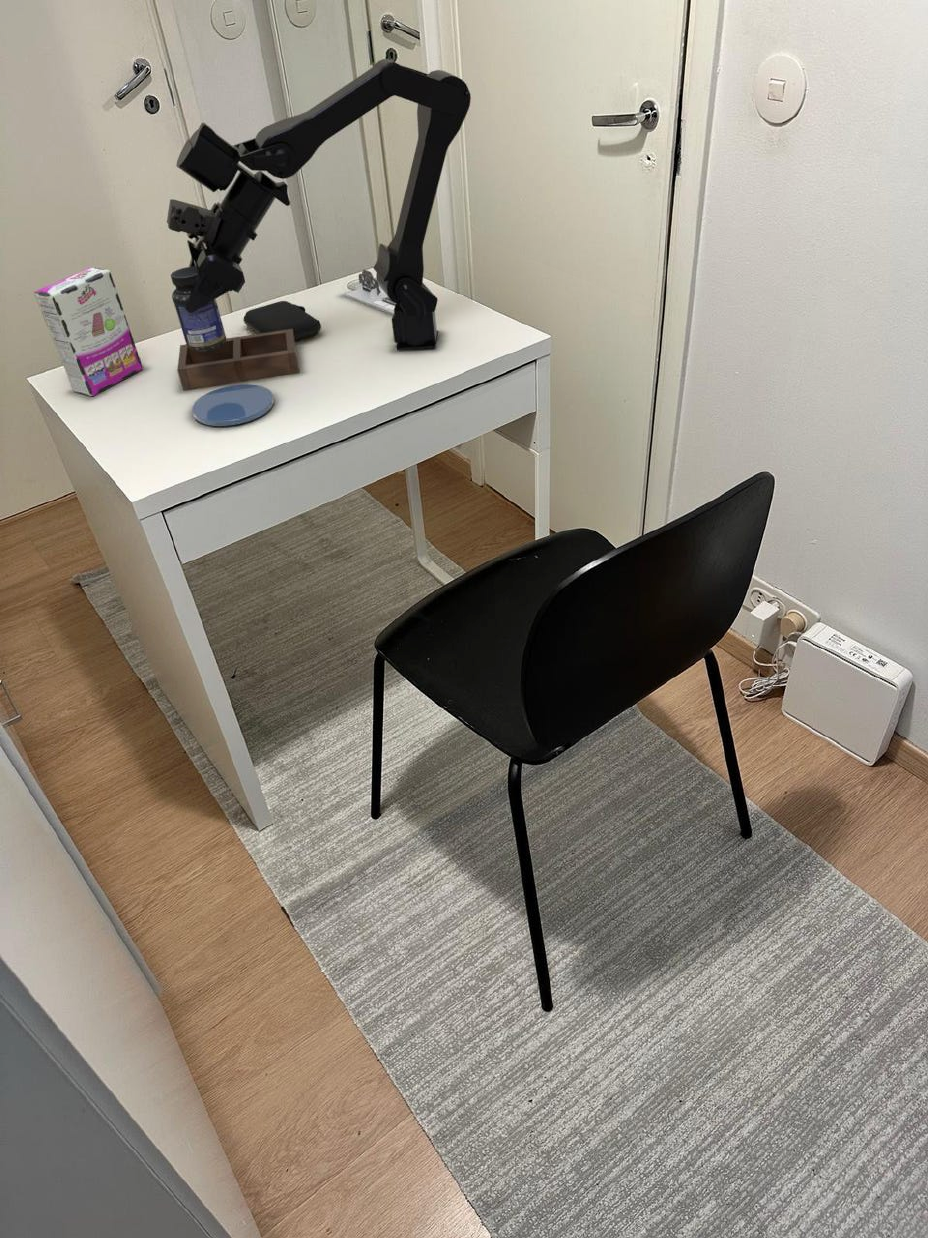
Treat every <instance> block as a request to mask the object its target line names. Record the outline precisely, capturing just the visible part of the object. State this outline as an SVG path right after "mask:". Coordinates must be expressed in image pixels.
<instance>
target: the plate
mask: <svg viewBox="0 0 928 1238" xmlns="http://www.w3.org/2000/svg"><path fill="white" fill-rule="evenodd" d="M274 401H275V400H274V396H273V393H272V391H271V390H270V389H268V388H267V387H264V386H262V385H258V384H249V383H246V384H245V383H243V384H241V383H240V384H233V385H228V386H223V387H220V388H219V387H218V388H216V389H214V390H211V391H209V392H207V393H205V394H203V395H202V396H200V397H198V399H197V400H195V402H194V403H193V405H192V413H193V417H194V418H195V419H196V420H197V421H198V422H199V423H200V424H203V425H208V426H214V427H226V426H235V425H241V424H244V423H248V422H250V421H254V420H256V419H258V418H260V417H262V416H263V415H265V414H266V413H267V412H269V411H270V410H271V408H273V405H274Z"/></svg>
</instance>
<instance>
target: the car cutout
mask: <svg viewBox="0 0 928 1238" xmlns="http://www.w3.org/2000/svg"><path fill="white" fill-rule="evenodd" d="M361 271H362V272H361V273H359V274H358V283H357V284H356V285H355V288H354V290H351V291H348V292H347V293H344V297H345V298H348V299H351V300H354V301H356V302H358V303H360V304H364V305H366V306H369V307H371V308H374V309H376V310H378V311H382V312H385V313H387V314H389V315H391V316H393V314H394V308H395V305H396V303H394V302H393V301H392V300H390V298H389V297H388V296H387V295H386V293H385V292H384V291H383V290H382V288H381V287H380V285H379V284H378V282H377V278H375V277H374V274H373V273H372V272H371V271H370V270H367V269H362V270H361Z"/></svg>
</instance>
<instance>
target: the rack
mask: <svg viewBox="0 0 928 1238" xmlns="http://www.w3.org/2000/svg"><path fill="white" fill-rule="evenodd" d="M177 361H178V362H177V367H176V368H177V369H176V371H177V374H178V377H179V380H180V383H181V384H180V385H181V387H182V390H183V391H189V390H195V389H202V388H208V387H215V386H222V385H226V384H227V385H228V384H235V383H241V382H242V383H243V382H248V381H254V380H262V379H267V378H275V377H280V376H287V375H294V374H300V373H301V372H300V365H299V364H300V363H299V356H298V350H297V344H296V343H295V339H294V334H293V329H287V330H281V331H274V332H268V333H261V334H257V333H255V334H247V335H241V336H235V337H228V338H227V337H226V342H225V343H224V344H223V345H222V346H220V347H218V348H215V349H212V350H209V351H193V350H191V349H189V348H188V347H187V345H186V343H185V344H180V345H179V354H178V360H177Z"/></svg>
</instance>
